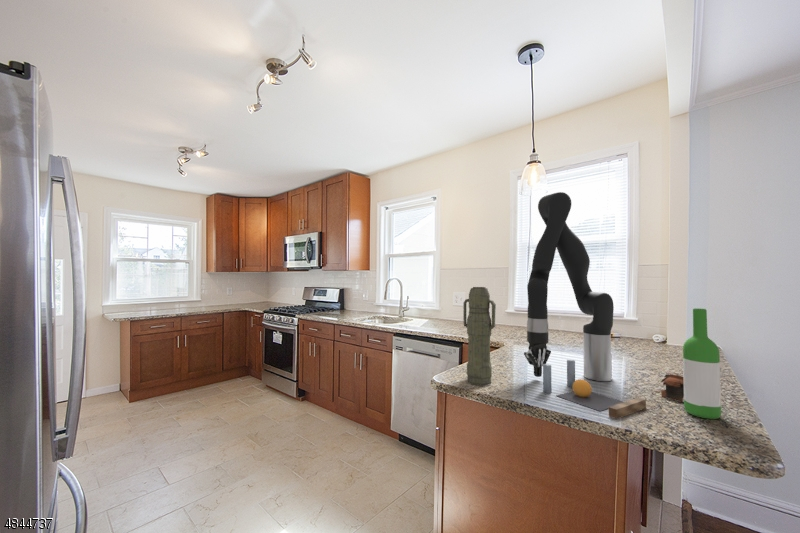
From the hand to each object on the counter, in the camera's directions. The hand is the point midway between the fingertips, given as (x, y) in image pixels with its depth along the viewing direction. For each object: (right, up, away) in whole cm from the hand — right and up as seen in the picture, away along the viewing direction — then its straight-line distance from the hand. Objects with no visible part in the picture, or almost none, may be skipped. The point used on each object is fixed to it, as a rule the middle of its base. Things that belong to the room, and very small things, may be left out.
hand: (537, 376), depth 123 cm
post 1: (-2, -1, -13) cm, 13 cm away
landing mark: (+8, -1, -19) cm, 21 cm away
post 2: (+9, -1, -6) cm, 11 cm away
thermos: (-23, -1, -2) cm, 23 cm away
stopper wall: (+14, -1, -29) cm, 32 cm away
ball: (+7, +2, -17) cm, 19 cm away
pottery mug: (+39, -2, -18) cm, 43 cm away
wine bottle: (+34, -1, -30) cm, 46 cm away
